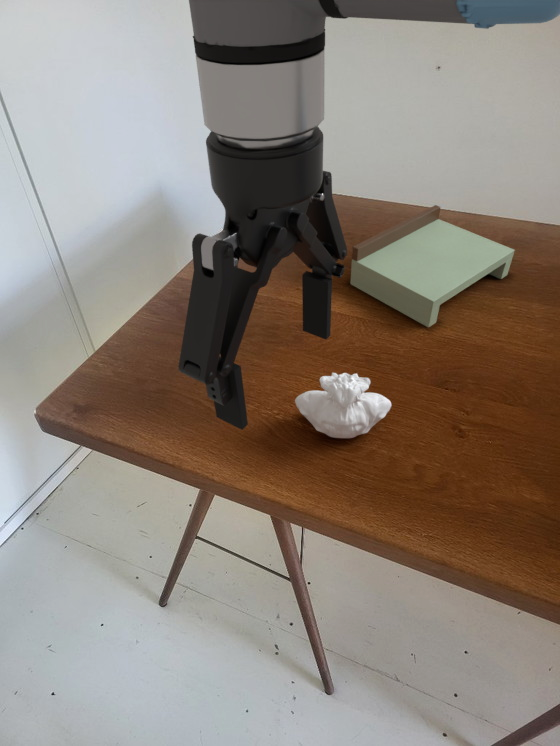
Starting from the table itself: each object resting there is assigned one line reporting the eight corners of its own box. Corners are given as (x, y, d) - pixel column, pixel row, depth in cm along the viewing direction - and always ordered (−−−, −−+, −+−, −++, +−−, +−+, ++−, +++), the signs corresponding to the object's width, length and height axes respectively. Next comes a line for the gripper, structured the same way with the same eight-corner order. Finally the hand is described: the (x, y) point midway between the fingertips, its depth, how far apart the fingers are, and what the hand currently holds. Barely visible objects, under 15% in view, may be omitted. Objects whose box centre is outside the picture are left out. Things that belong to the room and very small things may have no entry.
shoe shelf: (507, 275, 91) (519, 236, 86) (428, 327, 81) (436, 288, 76) (429, 240, 101) (435, 204, 96) (350, 284, 91) (352, 246, 86)
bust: (295, 437, 69) (289, 433, 58) (297, 380, 70) (292, 366, 59) (386, 441, 68) (398, 438, 57) (387, 384, 69) (399, 370, 58)
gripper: (315, 73, 42) (313, 293, 56) (67, 188, 27) (151, 447, 41) (402, 84, 38) (376, 315, 53) (174, 222, 24) (225, 489, 38)
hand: (277, 373), depth 47 cm, fingers open, 13 cm apart
